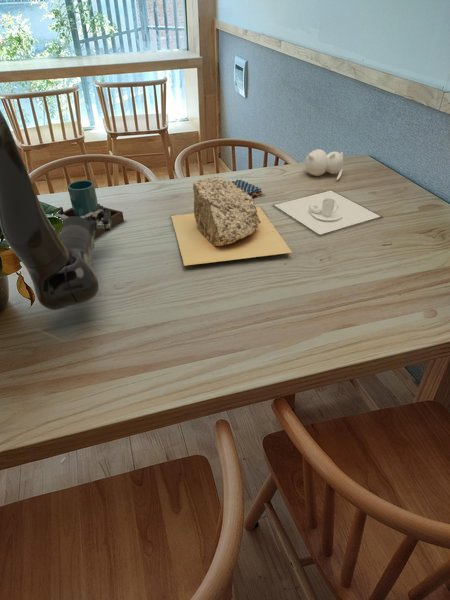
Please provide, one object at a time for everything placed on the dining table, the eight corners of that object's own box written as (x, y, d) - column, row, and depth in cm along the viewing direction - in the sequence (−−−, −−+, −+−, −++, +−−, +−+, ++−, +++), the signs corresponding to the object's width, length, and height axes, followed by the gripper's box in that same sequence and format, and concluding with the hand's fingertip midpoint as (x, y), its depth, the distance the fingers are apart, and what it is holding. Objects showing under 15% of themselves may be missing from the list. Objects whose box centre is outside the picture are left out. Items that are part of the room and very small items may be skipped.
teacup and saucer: (303, 211, 119) (304, 197, 117) (327, 205, 122) (329, 191, 120) (324, 224, 113) (326, 209, 110) (348, 217, 116) (351, 203, 113)
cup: (71, 224, 114) (62, 187, 108) (88, 215, 118) (80, 178, 112) (89, 229, 111) (81, 191, 105) (106, 220, 116) (99, 182, 110)
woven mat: (236, 204, 123) (236, 197, 122) (212, 193, 130) (212, 186, 129) (264, 195, 129) (264, 188, 127) (240, 184, 135) (240, 177, 134)
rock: (168, 215, 118) (196, 158, 112) (237, 244, 127) (267, 193, 120) (181, 264, 95) (217, 197, 89) (264, 296, 104) (302, 236, 97)
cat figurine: (345, 142, 136) (306, 142, 135) (351, 171, 133) (312, 171, 131) (336, 161, 145) (300, 161, 143) (342, 188, 141) (305, 189, 140)
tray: (52, 227, 114) (50, 218, 112) (85, 210, 122) (83, 201, 120) (92, 239, 108) (90, 230, 107) (124, 220, 116) (122, 211, 115)
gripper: (107, 222, 91) (108, 191, 103) (33, 229, 88) (44, 196, 101) (113, 254, 95) (114, 220, 108) (43, 261, 93) (52, 226, 106)
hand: (80, 209), depth 105 cm, fingers open, 8 cm apart
